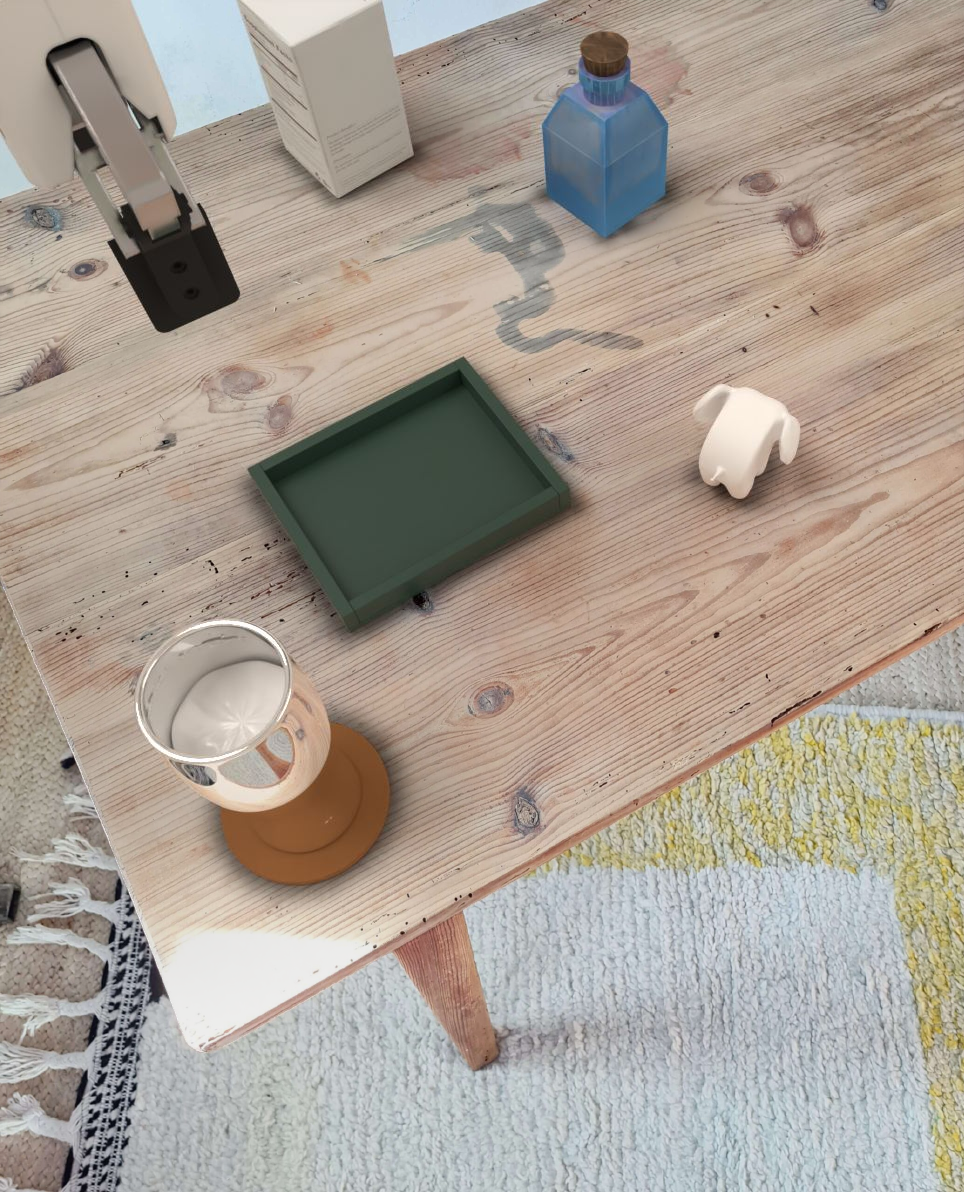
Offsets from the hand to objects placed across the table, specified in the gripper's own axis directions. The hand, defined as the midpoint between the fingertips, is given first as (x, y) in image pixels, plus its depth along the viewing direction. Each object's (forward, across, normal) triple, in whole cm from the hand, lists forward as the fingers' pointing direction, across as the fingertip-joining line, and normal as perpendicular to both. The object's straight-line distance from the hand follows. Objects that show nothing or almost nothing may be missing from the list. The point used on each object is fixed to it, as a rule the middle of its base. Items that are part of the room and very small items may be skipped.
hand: (148, 229), depth 40 cm
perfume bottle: (+28, -18, +32) cm, 46 cm away
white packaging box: (+28, -33, +18) cm, 47 cm away
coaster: (+28, +12, -7) cm, 31 cm away
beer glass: (+27, +12, -7) cm, 30 cm away
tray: (+28, -3, +7) cm, 29 cm away
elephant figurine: (+28, +7, +26) cm, 38 cm away
